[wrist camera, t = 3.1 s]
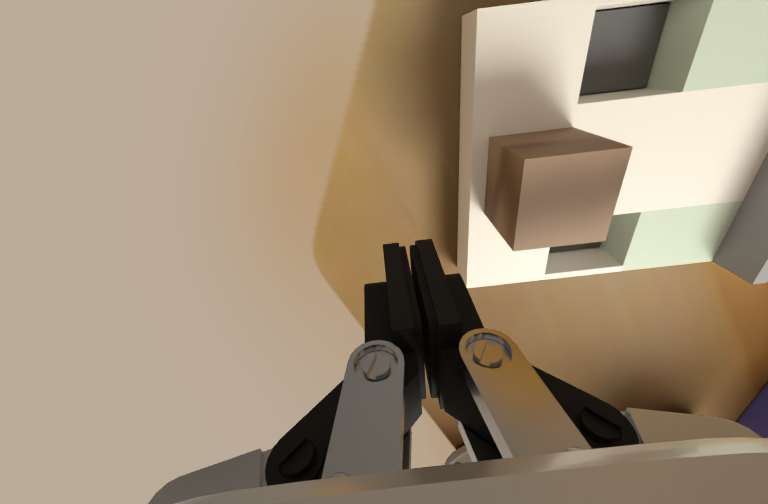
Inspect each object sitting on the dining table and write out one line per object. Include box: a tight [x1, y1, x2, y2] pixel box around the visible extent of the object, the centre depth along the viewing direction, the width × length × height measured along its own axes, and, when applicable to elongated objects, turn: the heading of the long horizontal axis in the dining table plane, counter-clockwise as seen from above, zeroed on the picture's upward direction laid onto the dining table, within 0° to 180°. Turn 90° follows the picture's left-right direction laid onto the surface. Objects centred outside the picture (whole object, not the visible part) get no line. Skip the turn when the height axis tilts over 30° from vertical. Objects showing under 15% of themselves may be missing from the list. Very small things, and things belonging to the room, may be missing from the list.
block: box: [484, 127, 633, 251], centre depth 18 cm, size 5×5×5 cm
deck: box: [457, 0, 768, 288], centre depth 20 cm, size 20×18×6 cm
